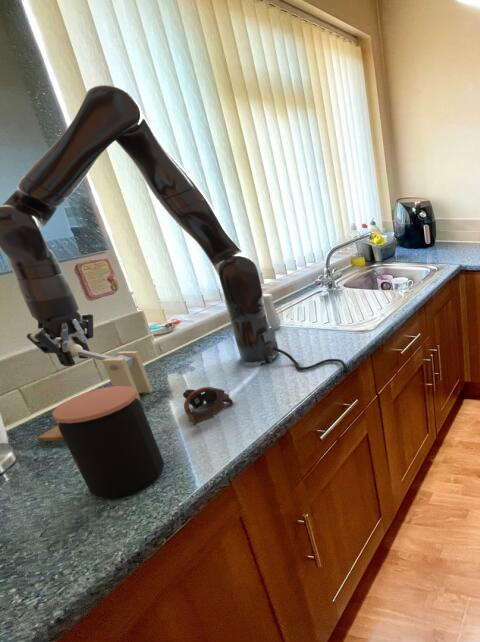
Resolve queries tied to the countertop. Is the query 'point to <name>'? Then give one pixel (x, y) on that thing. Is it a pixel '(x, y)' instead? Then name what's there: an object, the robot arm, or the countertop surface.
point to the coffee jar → (110, 441)
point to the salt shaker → (271, 312)
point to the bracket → (128, 372)
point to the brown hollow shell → (209, 396)
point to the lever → (95, 354)
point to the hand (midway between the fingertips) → (77, 361)
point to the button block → (52, 435)
